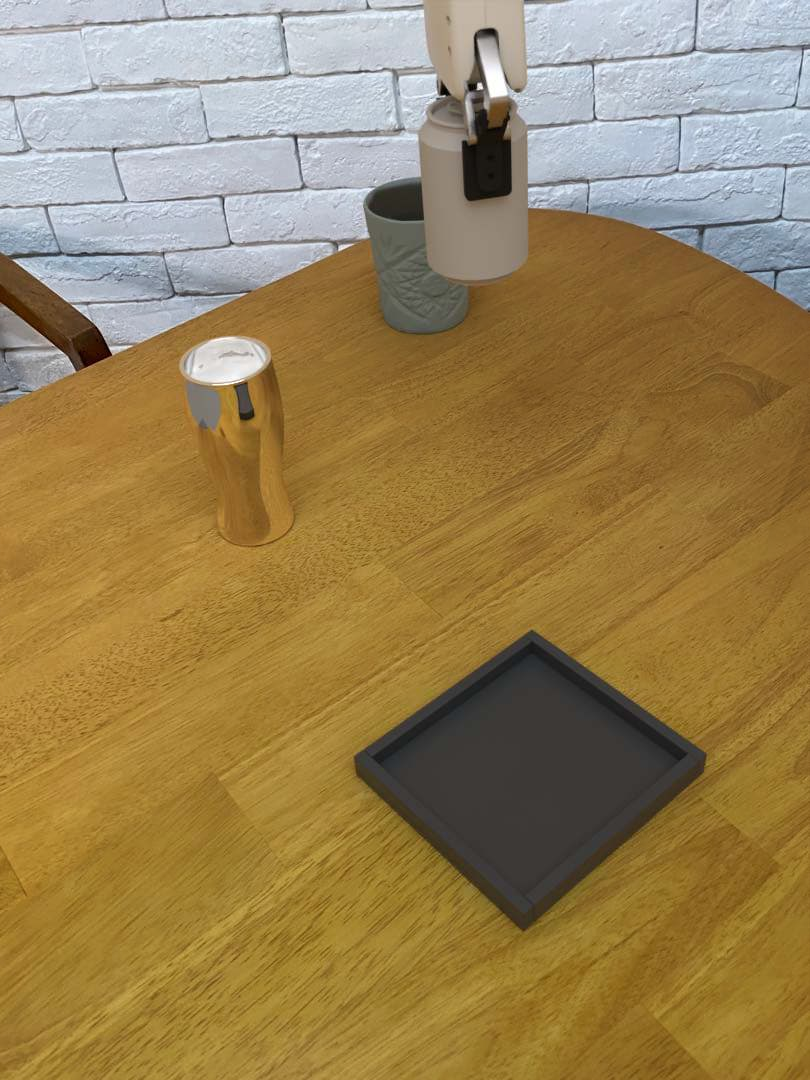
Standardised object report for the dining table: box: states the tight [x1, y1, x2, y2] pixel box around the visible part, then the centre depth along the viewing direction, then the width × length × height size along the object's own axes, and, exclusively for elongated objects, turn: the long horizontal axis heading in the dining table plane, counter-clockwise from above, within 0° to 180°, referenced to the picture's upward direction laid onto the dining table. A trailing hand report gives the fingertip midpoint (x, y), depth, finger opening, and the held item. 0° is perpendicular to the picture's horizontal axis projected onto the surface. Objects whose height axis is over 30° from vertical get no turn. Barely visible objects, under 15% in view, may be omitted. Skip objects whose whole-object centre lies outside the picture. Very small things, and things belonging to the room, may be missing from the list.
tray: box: [353, 629, 708, 932], centre depth 69 cm, size 16×15×2 cm
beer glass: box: [178, 335, 295, 547], centre depth 85 cm, size 7×7×15 cm
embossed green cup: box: [362, 176, 469, 335], centre depth 109 cm, size 10×10×12 cm
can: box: [417, 95, 529, 287], centre depth 80 cm, size 8×8×12 cm
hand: (474, 171), depth 79 cm, fingers closed on can, 7 cm apart
